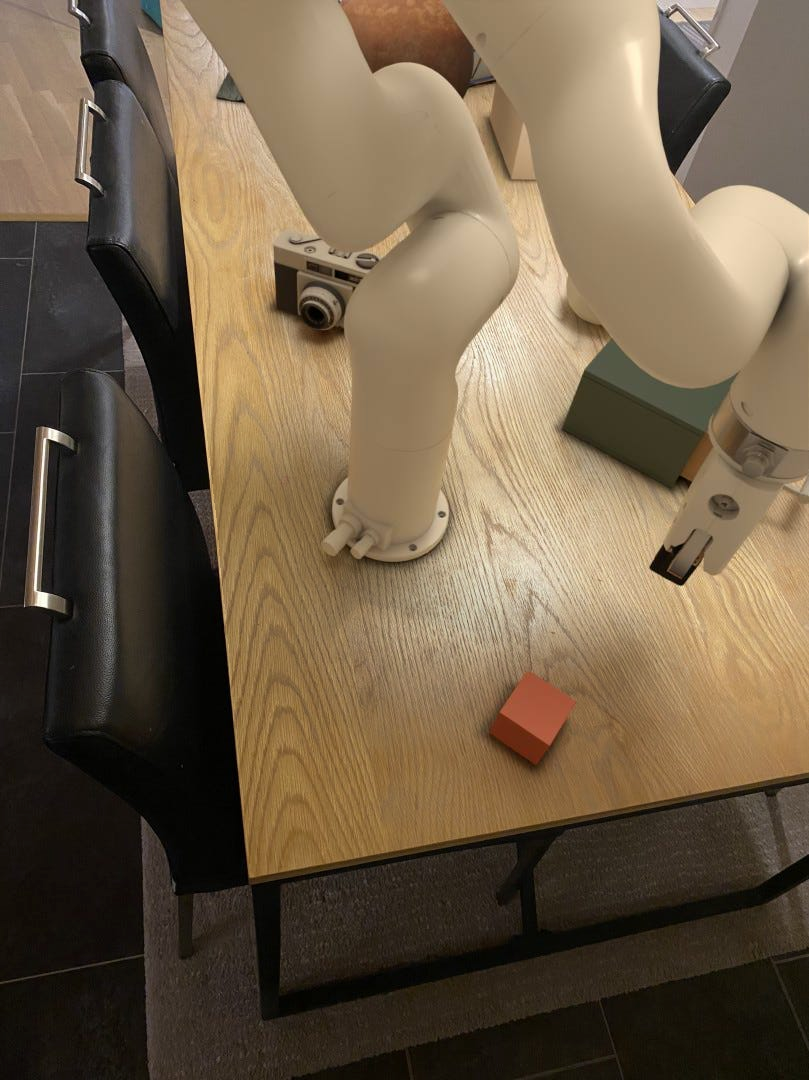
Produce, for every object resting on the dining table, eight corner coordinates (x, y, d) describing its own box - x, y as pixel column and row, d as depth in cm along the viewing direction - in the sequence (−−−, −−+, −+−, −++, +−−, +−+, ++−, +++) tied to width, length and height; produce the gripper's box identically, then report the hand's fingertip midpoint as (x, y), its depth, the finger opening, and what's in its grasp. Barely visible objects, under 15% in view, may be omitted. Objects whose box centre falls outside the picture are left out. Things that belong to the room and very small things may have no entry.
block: (535, 765, 68) (549, 746, 64) (488, 733, 69) (499, 711, 65) (562, 722, 70) (576, 701, 66) (515, 692, 72) (527, 669, 68)
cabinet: (710, 427, 95) (745, 369, 87) (671, 488, 88) (705, 431, 80) (606, 374, 99) (631, 313, 91) (561, 429, 92) (584, 369, 84)
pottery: (454, 176, 122) (480, -3, 102) (313, 151, 123) (312, -32, 102) (469, 109, 136) (495, -61, 115) (342, 87, 136) (346, -87, 116)
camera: (261, 325, 98) (256, 257, 90) (288, 289, 102) (285, 221, 94) (362, 357, 96) (366, 291, 88) (385, 319, 101) (391, 253, 93)
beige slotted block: (489, 119, 134) (520, -52, 114) (572, 121, 136) (617, -45, 116) (511, 179, 123) (549, 2, 103) (601, 181, 126) (655, 8, 105)
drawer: (813, 477, 90) (851, 432, 84) (783, 538, 84) (821, 495, 78) (675, 406, 95) (701, 358, 89) (637, 459, 89) (662, 413, 83)
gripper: (794, 526, 46) (677, 658, 62) (852, 390, 54) (735, 536, 69) (681, 468, 48) (594, 610, 63) (752, 345, 56) (659, 497, 71)
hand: (668, 571), depth 66 cm, fingers closed
